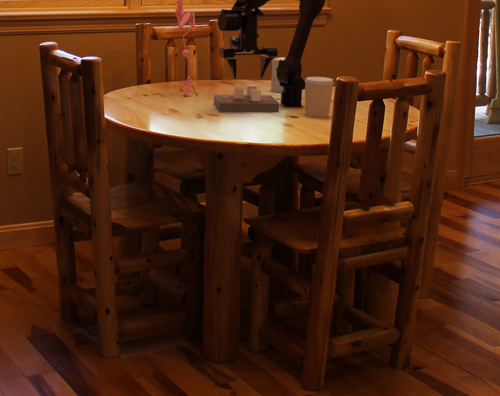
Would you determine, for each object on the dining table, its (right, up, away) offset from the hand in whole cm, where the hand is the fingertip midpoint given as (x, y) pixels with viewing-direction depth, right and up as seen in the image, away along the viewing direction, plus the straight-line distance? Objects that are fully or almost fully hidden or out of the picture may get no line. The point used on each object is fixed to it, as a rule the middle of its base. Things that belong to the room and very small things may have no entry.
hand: (248, 78), depth 235 cm
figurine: (-26, -1, +27) cm, 37 cm away
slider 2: (+1, -4, +9) cm, 10 cm away
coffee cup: (+23, -13, -1) cm, 26 cm away
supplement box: (+14, +1, +39) cm, 42 cm away
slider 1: (-3, -6, +4) cm, 8 cm away
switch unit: (-1, -9, +6) cm, 11 cm away
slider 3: (+2, -7, +1) cm, 8 cm away
